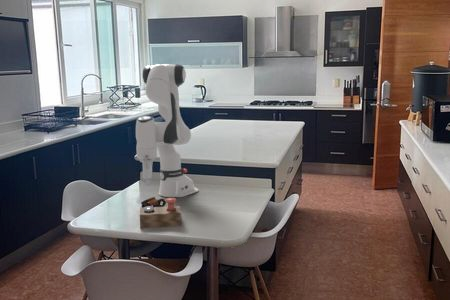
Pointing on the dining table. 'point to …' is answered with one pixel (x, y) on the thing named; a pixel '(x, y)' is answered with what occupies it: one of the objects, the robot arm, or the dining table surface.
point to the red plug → (171, 203)
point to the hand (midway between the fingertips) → (148, 184)
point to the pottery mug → (153, 202)
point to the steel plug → (149, 209)
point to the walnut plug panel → (160, 217)
